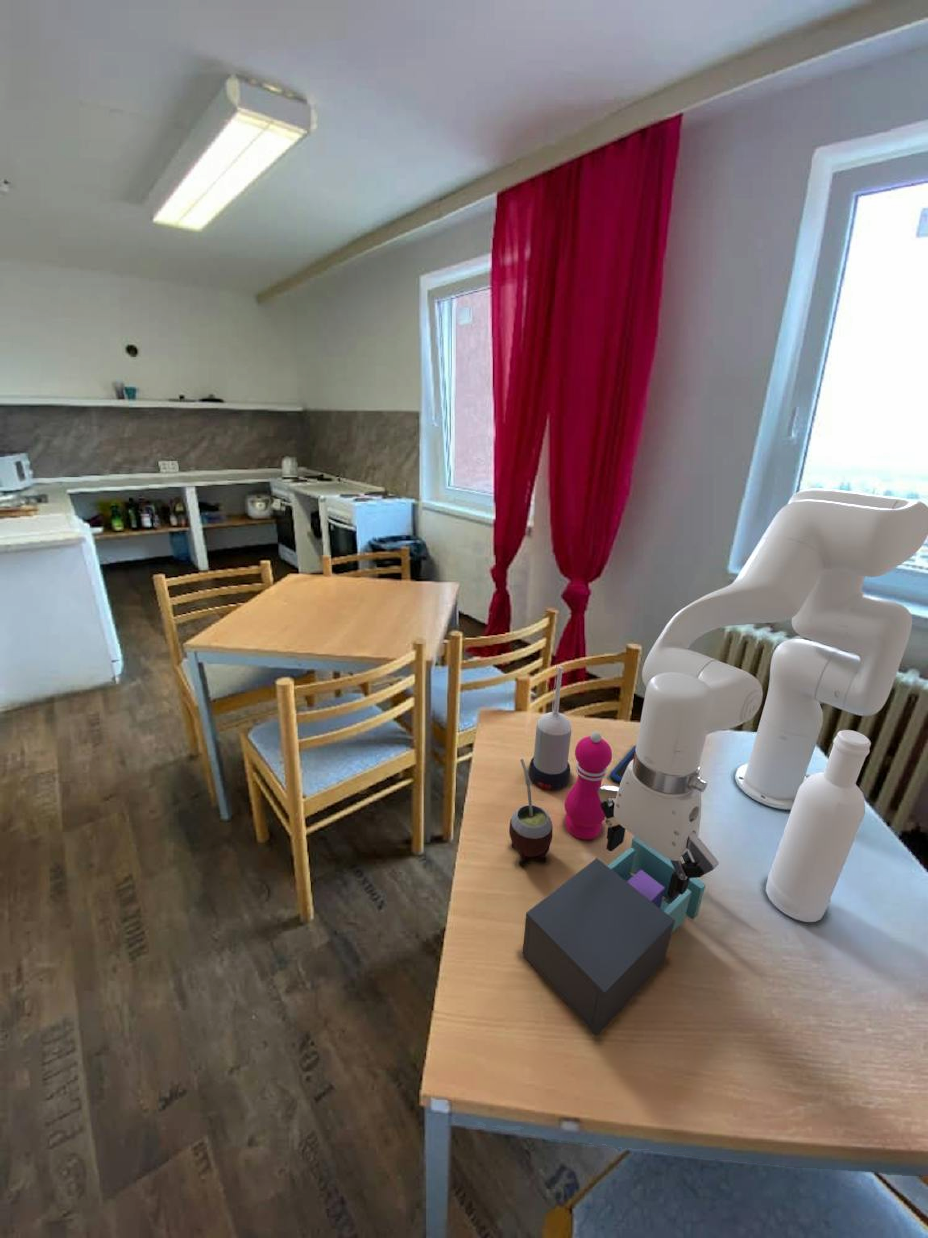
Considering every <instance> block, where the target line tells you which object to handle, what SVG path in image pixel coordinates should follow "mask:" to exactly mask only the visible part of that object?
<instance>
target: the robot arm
mask: <svg viewBox="0 0 928 1238" xmlns="http://www.w3.org/2000/svg"><path fill="white" fill-rule="evenodd" d="M927 538H928V506H927V505H926V503H924V502H922V501H921V500H915V499H910V498H903V497H895V496H886V495H879V494H878V495H877V494H869V493H863V492H856V491H849V490H841V489H831V488H806V489H802V490H799V491H797V492H795V493H794V494H793V495H791V497H790V498H789V500H788V502H787V504H785V505H784V506H782V507H781V508H780V509H779V510H778V512H777V513H776V514H775V515H774V517H773V519H772V520H771V522H770V523H769V524H768V527H767V528H766V530H765V532H764V533H763V535H762V536H761V538H760V539H759V541H758V542H757V545H756V546H755V547H754V549H753V551H752V552H751V554H749V557H748V559H747V560H746V562H745V563H744V565H743V567H742V568H741V570H739V571H740V572H739V573H738V575H737V576H736V578H735V579H734V581H733V582H732V583H731V584H728V585H727V586H724V587H722V588H720V589H717V590H714V591H711V592H710V593H708V594H705V595H703V596H702V597H700V598H698V599H696V600H694V601H693V602H691V603H689V604H688V605H686V606H685V607H683V608H681V609H680V610H679V611H678V612H676V613H675V614H674V615H673V616H672V617H671V618H670V620H668V622H667V624H666V625H665V627H664V628H663V630H662V631H661V633H660V634H659V636H658V638H657V639H656V641H655V642H654V644H653V646H652V647H651V649H650V650H649V653H648V655H647V657H646V658H645V661H644V663H643V667H642V672H641V678H642V683H643V685H644V687H645V688H646V689H645V693H644V698H643V704H642V710H641V716H640V721H639V728H638V733H637V737H636V744H635V746H636V749H635V755H634V759H633V760H632V761H631V762H630V763H629V765H628V767H627V769H626V771H625V773H624V775H623V778H622V780H621V783H619V786H615V785H608V784H603V785H601V787H600V788H598V789H597V791H598V795H599V799H600V801H601V805H600V806H601V808H602V810H603V812H604V814H605V816H606V817H605V819H604V823H605V824H606V826H607V833H606V839H607V842H606V846H605V847H606V848H605V849H606V850H607V851H608V852H613V851H614V850H615V849H616V848H618V847H620V845H622V844H623V843H624V841H625V836H626V835H625V834H626V831H627V832H629V833H630V834H631V835H633V836H634V837H635V836H636V837H637V838H638V839H640V840H641V841H643V842H644V843H645V844H647V845H648V846H650V847H651V848H652V849H654V850H655V851H657V852H658V853H660V854H661V855H663V856H664V857H666V858H668V859H670V861H671V863H672V865H673V867H674V869H675V872H674V873H673V874H672V876H671V880H670V884H669V888H668V892H667V895H668V897H669V898H671V899H673V898H674V897H675V896H676V895H677V894H678V893H680V894H681V895H682V894H683V893H684V892H685V891H686V890H687V888H688V884H689V880H690V878H697V879H699V878H702V877H703V876H705V875H707V874H709V873H710V872H712V871H714V870H715V869H716V868H717V867H718V865H719V864H720V863H719V861H718V859H717V858H716V857H715V856H714V855H713V853H712V852H711V850H710V849H708V847H707V846H706V845H705V844H704V842H703V841H702V840H701V839H700V838H699V834H700V833H699V832H700V827H701V819H702V801H703V800H702V793H704V792H705V790H706V789H707V786H708V782H706V781H705V780H703V778H702V777H701V776H700V773H701V768H700V764H701V760H702V755H703V751H704V748H705V747H704V746H705V744H706V743H705V742H706V739H707V736H708V735H710V734H713V733H717V732H721V731H726V730H730V729H732V728H733V729H734V728H736V727H738V726H741V725H743V724H744V723H747V722H749V721H750V720H752V719H753V718H754V717H755V716H756V714H757V713H758V711H759V710H760V708H761V705H762V702H763V696H764V693H763V688H762V684H761V683H760V681H759V680H758V678H756V677H755V676H754V675H752V674H751V673H749V672H748V671H746V670H744V669H740V668H738V667H736V666H733V665H731V664H728V663H724V662H722V661H720V660H718V659H716V658H714V657H711V656H709V655H708V656H707V655H705V654H702V653H700V652H697V651H695V650H692V649H690V647H691V645H692V644H693V643H694V642H696V640H697V639H699V638H700V637H702V636H704V635H705V634H707V633H709V632H711V631H712V632H713V631H714V630H718V629H721V628H725V627H734V626H745V625H755V624H771V623H780V622H785V621H788V620H791V627H792V629H793V630H794V632H795V633H796V634H798V635H800V636H801V637H803V638H805V639H802V638H789V639H786V640H783V641H782V642H780V643H779V644H777V646H776V648H775V649H774V650H773V653H772V655H771V659H770V667H769V682H768V689H767V694H766V698H765V703H764V706H763V709H762V713H761V717H760V720H759V722H758V723H759V724H758V727H757V730H756V734H755V738H754V741H753V745H752V748H751V751H750V755H749V759H748V761H747V763H744V764H741V765H740V766H739V767H738V768H737V769H736V771H735V775H734V779H735V782H736V784H737V786H738V788H740V789H741V791H742V792H743V793H744V794H746V795H747V796H749V798H751V799H752V800H754V801H756V802H758V803H760V804H762V805H765V806H768V807H770V808H775V809H777V810H778V809H779V810H786V811H787V810H788V811H791V810H792V807H793V804H794V801H795V798H796V795H797V792H798V789H799V787H800V785H801V784H802V783H803V782H804V781H805V780H806V779H807V778H808V777H809V776H810V775H811V774H808V773H807V771H808V768H809V766H810V763H811V760H812V757H813V754H814V751H815V748H816V746H817V743H818V739H819V736H820V734H821V732H822V731H821V730H822V728H823V724H824V713H823V709H822V707H821V704H820V702H821V703H823V704H825V705H828V706H832V707H833V708H836V709H839V710H841V711H845V712H847V713H849V714H853V715H855V716H859V717H870V716H874V715H876V714H877V713H879V712H880V711H881V710H882V709H883V707H884V706H885V704H886V702H887V701H888V698H889V697H890V693H891V691H892V688H893V685H894V683H895V680H896V677H897V674H898V672H899V668H900V665H901V663H902V660H903V656H904V653H905V651H906V648H907V645H908V642H909V639H910V636H911V632H912V627H913V617H912V614H911V612H910V610H909V609H908V608H907V607H906V606H904V605H902V604H901V603H899V602H896V601H893V600H889V599H886V598H880V597H876V596H873V595H869V594H865V593H864V591H863V586H864V582H865V578H866V577H867V578H876V577H880V576H883V575H886V574H887V573H889V572H891V571H893V570H894V569H896V568H897V567H899V566H901V565H902V564H904V563H905V562H907V561H908V560H910V559H911V558H912V557H913V556H915V554H917V552H918V551H919V550H920V549H921V548H922V546H923V545H924V543H925V541H926V540H927ZM613 799H614V800H613ZM688 847H689V848H690V849H691V851H692V852H693V853H694V854H695V855H696V857H697V858H698V859H699V861H700V862H695V861H694V859H693V857H692V854H691V852H690V850H689V848H688ZM681 858H682V859H681ZM682 860H683V862H682Z"/></svg>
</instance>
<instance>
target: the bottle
mask: <svg viewBox="0 0 928 1238" xmlns="http://www.w3.org/2000/svg"><path fill="white" fill-rule="evenodd" d="M832 742H833V745H832V748H831V751H830V753H829V756H828V759H827V762H826V764H825V768H824V771H819V772H814V773H811V774H809V775H810V776H809V777H808V778H807V779H806V780H805V781H804V782H803V783H802V784H801V785H800V787H799V789H798V792H797V795H796V798H795V801H794V804H793V807H792V810H790V812H789V816H788V817H787V818H788V819H787V821H786V823H785V824H786V825H785V828H784V831H783V833H782V836H781V840H780V842H779V845H778V848H777V851H776V854H775V856H774V860H773V863H772V866H771V869H770V870H769V873H768V875H767V881H766V884H765V892H766V895H767V897H768V899H769V901H770V902H771V903H772V904H773V905H774V906H775V908H776V909H778V910H779V911H781V913H783V914H785V915H787V916H788V917H790V918H792V919H794V920H796V921H800V922H805V923H816V922H818V921H820V920H822V918H823V916H824V914H825V912H826V911H827V909H828V907H829V905H830V903H831V898H832V895H833V893H834V891H835V888H836V886H837V883H838V881H839V878H840V877H841V874H842V872H843V869H844V866H845V864H846V861H847V859H848V857H849V854H850V851H851V849H852V847H853V844H854V842H855V839H856V837H857V834H858V832H859V829H860V827H861V825H862V823H863V819H864V817H865V815H866V803H865V797H864V796H865V795H864V793H863V791H862V790H861V789H860V787H859V786H858V785H857V781H858V778H859V776H860V773H861V770H862V767H863V766H864V762H865V760H866V757H867V756H868V755H869V754H870V751H871V750H870V748H871V745H872V742H871V740H870V739H869V738H868V737H867V736H866V735H864V734H863V733H861V732H858V731H855V730H852V729H842V730H839V731H838V732H837V734H836V736H835V737H834V738H833V740H832Z"/></svg>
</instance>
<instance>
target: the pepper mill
mask: <svg viewBox="0 0 928 1238" xmlns="http://www.w3.org/2000/svg"><path fill="white" fill-rule="evenodd" d="M574 756H575V759H576V765H575V772H576V773H577V779H576V782H575V783H574V784H573V786H572V788H571V789H570V790H569V791H568V793H567V795H566V797H565V800H564V811H565V813H566V814H565V819H564V825H565V829H566V830H567V831H568V833H569V834H570V835H572V836H573V837H575V838H577V839H581V840H587V841H588V840H593V839H595V838H597V837H598V836H599V835H600V834H601V830H602V826H603V825H602V824H603V821H605V820H606V816H605V814H604V812H603V810H602V808H601V806H600V805H601V801H600V799H599V795H598V791H597V789H598V788H600V787H601V786H602V782H603V779H605V778H606V775H607V770H608V767H609V765H610V764H611V762H612V759H613V753H612V748H611V746H610V744H609V743H608V742H607V741H606V740H605V739H603V738H602V735H601V733H600V732H599V731H592V732H591V733H590V735H589V736H585V737H583V738H581V739H580V740H579V741H578V742H577V744H576V745H575V749H574Z"/></svg>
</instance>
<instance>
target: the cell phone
mask: <svg viewBox="0 0 928 1238" xmlns="http://www.w3.org/2000/svg"><path fill="white" fill-rule="evenodd" d="M635 749H636V745H634V746H633V747H632V748H631V749H630V751H629V752H628V753H627V754H626V755H625V757H623V758H622V759H621V761H620V762H619V763H618V764H617V765H616V766H615V767H614V768H613V770H612V771H611V772H610V774H609V778H610V779H611V780H612V781H615V782H616V783H619V784H620V783H621V780H622V778H623V775H624V773H625V771H626V769H627V767H628V765H629V763H630V762H631V761H632V760H633V759H634V755H635Z"/></svg>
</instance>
